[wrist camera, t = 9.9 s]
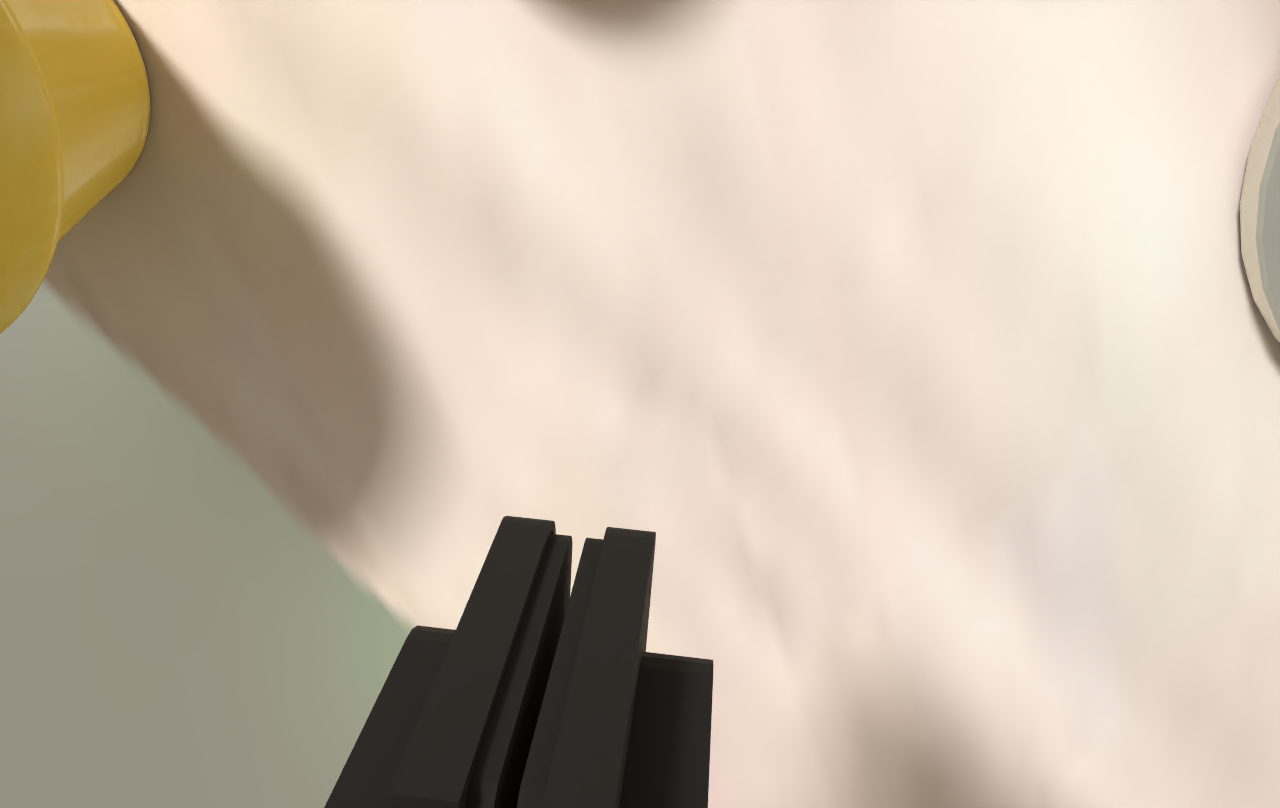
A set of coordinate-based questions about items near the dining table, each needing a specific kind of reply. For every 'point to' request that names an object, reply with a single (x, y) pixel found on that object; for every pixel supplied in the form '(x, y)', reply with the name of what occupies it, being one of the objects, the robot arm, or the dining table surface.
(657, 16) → the dining table surface
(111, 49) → the plant pot
